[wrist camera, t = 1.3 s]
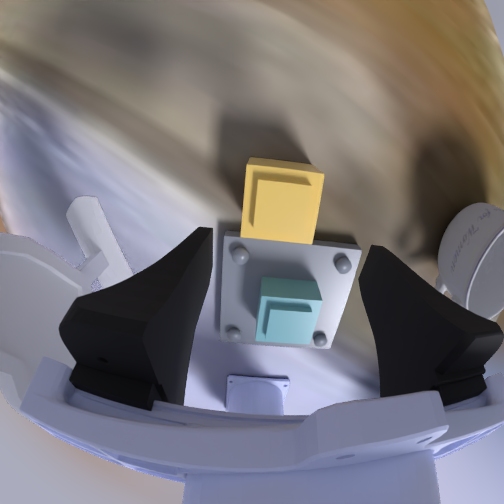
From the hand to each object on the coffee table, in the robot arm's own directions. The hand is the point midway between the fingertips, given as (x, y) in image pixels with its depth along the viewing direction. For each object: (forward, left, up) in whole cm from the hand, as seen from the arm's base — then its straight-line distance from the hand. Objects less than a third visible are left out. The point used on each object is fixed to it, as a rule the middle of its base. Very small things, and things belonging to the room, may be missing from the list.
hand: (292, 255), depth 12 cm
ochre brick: (0, 0, -11) cm, 11 cm away
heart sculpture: (-8, +17, -11) cm, 22 cm away
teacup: (-3, -20, -12) cm, 23 cm away
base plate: (-10, -2, -11) cm, 15 cm away
